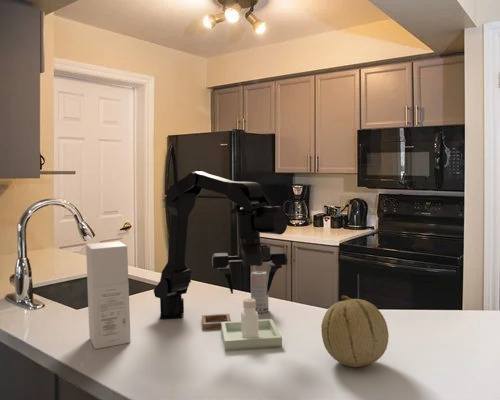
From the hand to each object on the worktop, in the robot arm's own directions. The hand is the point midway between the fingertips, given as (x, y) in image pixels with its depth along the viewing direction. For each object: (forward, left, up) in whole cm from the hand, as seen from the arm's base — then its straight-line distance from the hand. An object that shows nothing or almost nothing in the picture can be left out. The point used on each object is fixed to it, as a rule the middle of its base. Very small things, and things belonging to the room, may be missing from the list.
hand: (249, 292), depth 117 cm
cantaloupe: (+21, -19, -12) cm, 31 cm away
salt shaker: (0, 0, -12) cm, 12 cm away
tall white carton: (-36, +5, -12) cm, 39 cm away
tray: (0, 0, -12) cm, 12 cm away
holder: (-8, +13, -12) cm, 20 cm away
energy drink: (+6, +23, -12) cm, 27 cm away
